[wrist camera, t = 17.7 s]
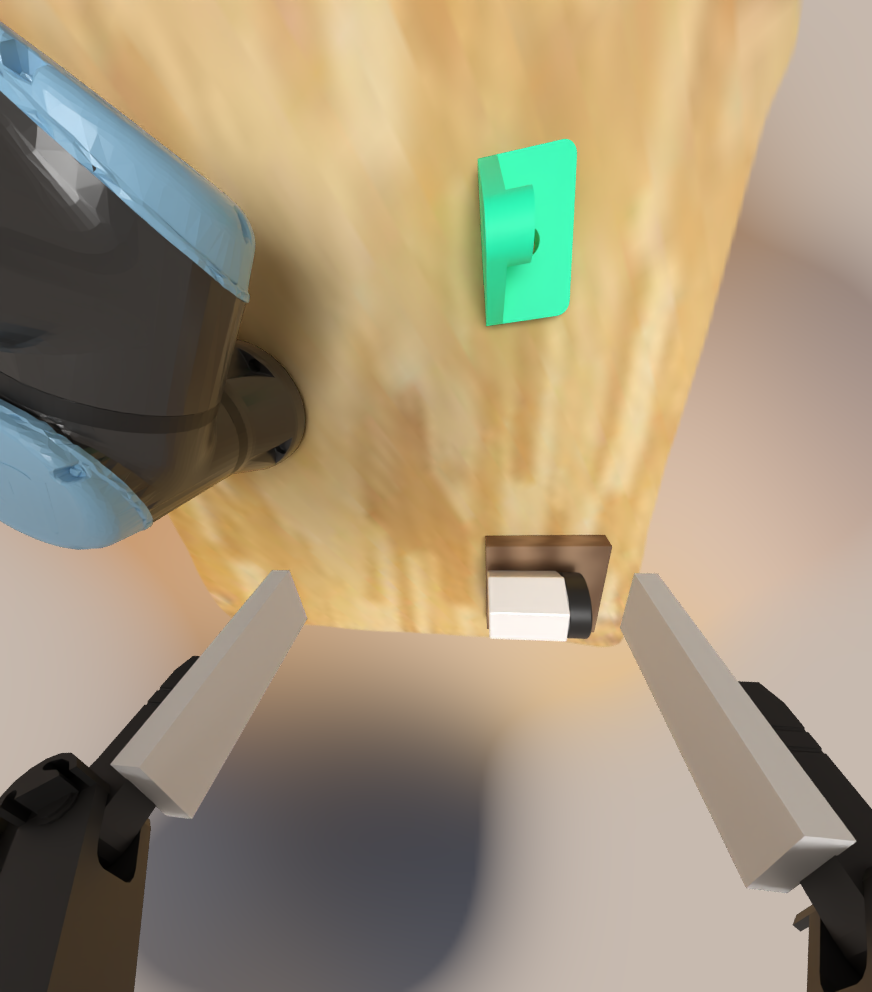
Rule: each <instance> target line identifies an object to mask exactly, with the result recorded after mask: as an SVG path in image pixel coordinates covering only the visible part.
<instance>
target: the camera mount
mask: <svg viewBox="0 0 872 992" xmlns="http://www.w3.org/2000/svg"><path fill="white" fill-rule="evenodd" d="M576 163H577V150H576V146H575V144H574V143H573V142H572V141H571V140H569V139H562V140H558V141H553V142H549V143H545V144H540V145H536V146H532V147H527V148H523V149H518V150H514V151H510V152H505V153H501V154H497V155H492V156H488V157H484V158H479V159H478V182H479V201H480V219H481V225H480V226H481V244H482V263H483V281H484V294H485V313H486V326H491V325H498V324H504V323H511V322H518V321H525V320H531V319H538V318H545V317H552V316H558V315H561V314H562V313H564V312H565V311H566V309H567V308H568V306H569V301H570V282H571V262H572V243H573V223H574V203H575V183H576ZM534 242H535V251H534V254H533V246H534ZM532 254H533V255H532Z"/></svg>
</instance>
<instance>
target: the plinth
mask: <svg viewBox="0 0 872 992" xmlns="http://www.w3.org/2000/svg"><path fill="white" fill-rule="evenodd" d="M611 549H612V545H611V544H610V542H609V541H608V539H607V537H606V536H605V535H561V536H486V608H487V629H489V612H488V578H487V572H488V571H489V570H518V571H556V572H558V573H559V572H578V573H581V574H582V575H583V577H584V578H585V581H586V583H587V586H588V589H589V593H590V598H591V604H592V618H593V620H592V630H591V632H594V630H595V625H596V621H597V616H598V611H599V606H600V602H601V597H602V592H603V587H604V583H605V578H606V573H607V568H608V564H609V559H610V554H611Z"/></svg>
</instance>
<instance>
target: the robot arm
mask: <svg viewBox="0 0 872 992" xmlns="http://www.w3.org/2000/svg"><path fill="white" fill-rule="evenodd" d="M255 246H256V245H255V237H254V232H253V229H252V226H251V224H250V222H249V220H248V218H247V216H246V215H245V213H244V212H243V211H242V210H241V208H240V207H239V206H238V205H237V204H236V203H235V202H234V201H233V200H232V199H231V198H229V197H228V196H227V195H226V194H225V193H224V192H222V191H221V190H220V189H219V188H217V187H216V186H215V185H214V184H212V183H211V182H210V181H209V180H207V179H206V178H205V177H203V176H202V175H201V174H200V173H198V172H197V171H196V170H195V169H193V168H192V167H191V166H190V165H188V164H187V163H186V162H184V161H183V160H182V159H181V158H179V157H178V156H177V155H175V154H174V153H173V152H172V151H170V150H169V149H168V148H166V147H165V146H164V145H162V144H161V143H160V142H159V141H157V140H156V139H155V138H153V137H152V136H151V135H149V134H148V133H147V132H146V131H144V130H143V129H142V128H140V127H139V126H138V125H137V124H135V123H134V122H133V121H131V120H130V119H129V118H128V117H126V116H125V115H124V114H122V113H121V112H120V111H119V110H117V109H116V108H115V107H113V106H112V105H111V104H109V103H108V102H107V101H106V100H104V99H103V98H102V97H100V96H99V95H98V94H96V93H95V92H94V91H92V90H91V89H90V88H89V87H87V86H86V85H85V84H83V83H82V82H81V81H79V80H78V79H77V78H75V77H74V76H73V75H72V74H70V73H69V72H68V71H66V70H65V69H64V68H62V67H61V66H60V65H58V64H57V63H56V62H55V61H53V60H52V59H51V58H49V57H48V56H46V55H45V54H44V53H42V52H41V51H40V50H38V49H37V48H36V47H34V46H33V45H32V44H30V43H29V42H28V41H26V40H25V39H23V38H22V37H21V36H19V35H18V34H17V33H15V32H14V31H13V30H11V29H10V28H9V27H7V26H6V25H5V24H3V23H2V22H1V21H0V521H1V522H3V523H4V524H6V525H8V526H10V527H11V528H13V529H15V530H17V531H19V532H21V533H24V534H26V535H28V536H30V537H32V538H35V539H37V540H40V541H43V542H45V543H48V544H52V545H55V546H59V547H64V548H70V549H78V550H79V549H91V548H103V547H107V546H110V545H112V544H114V543H116V542H118V541H121V540H123V539H125V538H127V537H129V536H131V535H133V534H135V533H137V532H139V531H142V530H146V529H147V528H149V527H150V526H151V525H152V524H153V522H155V521H156V520H158V519H160V518H161V517H163V516H164V515H166V514H168V513H169V512H171V511H173V510H174V509H176V508H178V507H179V506H181V505H182V504H184V503H186V502H187V501H189V500H191V499H192V498H194V497H195V496H197V495H199V494H200V493H202V492H204V491H205V490H207V489H209V488H210V487H212V486H213V485H215V484H217V483H218V482H220V481H222V480H223V479H225V478H226V477H228V476H230V475H231V474H235V473H242V472H249V471H256V470H262V469H267V468H270V467H272V466H274V465H277V464H278V463H280V462H281V461H283V460H284V459H286V458H287V457H289V456H290V455H291V454H292V453H293V452H294V451H295V450H296V449H297V447H298V446H299V444H300V442H301V440H302V437H303V434H304V428H305V413H304V407H303V403H302V400H301V397H300V394H299V392H298V389H297V387H296V385H295V384H294V382H293V380H292V379H291V377H290V376H289V374H288V373H287V372H286V370H285V369H284V368H283V367H282V366H281V365H280V364H279V363H278V362H277V361H276V360H275V359H274V358H273V357H272V356H270V355H269V354H268V353H266V352H265V351H263V350H262V349H260V348H258V347H256V346H255V345H252V344H250V343H247V342H245V341H241V340H237V335H238V331H239V327H240V323H241V320H242V316H243V312H244V308H245V304H246V303H249V300H250V295H249V293H248V287H249V280H250V275H251V270H252V264H253V259H254V254H255ZM306 620H307V616H306V613H305V611H304V608H303V605H302V603H301V600H300V597H299V595H298V592H297V589H296V587H295V584H294V581H293V579H292V576H291V573H290V571H289V570H272V571H271V572H270V573H269V575H268V576H267V577H266V578H265V579H264V581H263V582H262V583H261V584H260V585H259V587H258V588H257V589H256V590H255V591H254V593H253V594H252V595H251V596H250V597H249V599H248V600H247V601H246V602H245V603H244V605H243V606H242V607H241V608H240V609H239V610H238V612H237V613H236V614H235V615H234V616H233V618H232V619H231V620H230V621H229V622H228V624H227V625H226V626H225V627H224V628H223V630H222V631H221V632H220V633H219V635H218V636H217V637H216V638H215V639H214V641H213V642H212V643H211V644H210V645H209V647H208V648H207V649H206V650H205V651H204V652H203V654H202V655H201V656H192V657H191V658H190V659H189V660H187V661H186V662H185V663H183V664H182V665H181V666H180V667H178V668H177V669H176V670H175V671H174V672H173V673H172V674H171V675H170V676H169V678H168V679H167V680H166V681H165V682H164V683H163V684H162V686H161V687H160V690H159V691H156V692H155V694H154V695H153V696H152V697H151V698H150V699H149V700H148V703H147V705H144V706H143V707H142V708H141V710H140V711H139V712H138V713H137V714H136V716H134V718H133V719H132V720H131V721H130V722H129V723H128V724H127V726H126V727H125V728H124V729H123V730H122V731H121V732H120V734H119V735H118V736H117V737H116V738H115V739H114V740H113V742H112V743H111V744H110V745H109V746H108V747H107V748H106V750H105V751H104V752H103V753H102V754H101V755H100V756H99V758H98V759H97V760H96V761H95V762H94V763H93V764H92V765H91V766H90V767H88V766H86V765H85V764H84V763H83V762H81V760H79V759H78V758H77V757H76V756H75V755H73V754H72V753H61V754H58V755H55V756H52V757H50V758H47V759H45V760H44V761H42V762H41V763H39V764H37V765H36V766H34V767H32V768H31V769H29V770H28V771H27V772H26V773H25V774H23V775H22V776H21V777H20V778H18V779H17V780H16V781H15V782H14V783H13V784H12V785H11V786H10V787H9V788H8V789H7V790H6V791H5V792H4V793H3V795H2V796H1V797H0V992H134V986H135V976H136V966H137V956H138V947H139V936H140V928H141V918H142V908H143V898H144V889H145V879H146V869H147V860H148V849H149V841H150V831H151V826H150V820H149V819H148V817H149V816H150V814H151V813H152V811H153V810H154V808H155V807H157V808H159V809H160V810H161V811H162V812H163V813H164V814H165V815H166V816H172V817H180V818H188V819H192V818H193V816H194V814H195V813H196V811H197V809H198V808H199V806H200V804H201V802H202V801H203V799H204V797H205V795H206V793H207V792H208V790H209V788H210V786H211V785H212V783H213V781H214V780H215V778H216V776H217V775H218V773H219V771H220V769H221V767H222V766H223V764H224V762H225V761H226V759H227V757H228V755H229V754H230V752H231V750H232V748H233V747H234V745H235V743H236V741H237V740H238V738H239V736H240V735H241V733H242V731H243V729H244V728H245V726H246V724H247V722H248V720H249V719H250V717H251V715H252V714H253V712H254V710H255V708H256V707H257V705H258V703H259V701H260V700H261V698H262V696H263V695H264V693H265V691H266V689H267V688H268V686H269V684H270V682H271V681H272V679H273V677H274V675H275V674H276V672H277V670H278V668H279V667H280V665H281V663H282V662H283V660H284V658H285V656H286V655H287V653H288V651H289V649H290V648H291V646H292V644H293V642H294V641H295V639H296V637H297V635H298V634H299V632H300V630H301V628H302V627H303V625H304V623H305V622H306ZM620 629H621V631H622V633H623V635H624V637H625V639H626V641H627V643H628V645H629V647H630V649H631V651H632V653H633V655H634V657H635V659H636V661H637V664H638V666H639V668H640V670H641V672H642V674H643V676H644V678H645V680H646V682H647V684H648V686H649V688H650V690H651V692H652V695H653V697H654V699H655V701H656V703H657V705H658V707H659V709H660V711H661V713H662V715H663V717H664V719H665V722H666V724H667V726H668V728H669V730H670V732H671V734H672V736H673V738H674V740H675V742H676V744H677V746H678V748H679V750H680V753H681V755H682V757H683V759H684V761H685V763H686V764H687V767H688V769H689V771H690V773H691V775H692V777H693V779H694V781H695V783H696V786H697V788H698V790H699V792H700V794H701V796H702V798H703V800H704V802H705V804H706V806H707V808H708V810H709V812H710V814H711V817H712V819H713V821H714V823H715V825H716V827H717V829H718V831H719V833H720V835H721V837H722V839H723V841H724V843H725V845H726V848H727V850H728V852H729V854H730V856H731V858H732V860H733V862H734V864H735V866H736V868H737V870H738V872H739V874H740V876H741V878H742V881H743V883H744V885H745V887H746V888H750V889H758V890H766V891H774V892H782V893H788V892H790V891H791V890H792V889H794V888H795V887H796V886H798V885H799V884H801V885H802V887H803V889H804V890H805V892H806V894H807V896H808V897H809V899H810V901H811V902H812V905H811V906H810V907H808V908H806V909H805V910H803V911H802V912H800V913H799V914H797V915H796V918H795V920H794V923H793V926H795V927H796V928H797V929H798V930H800V931H802V930H804V929H805V928H807V927H809V946H808V975H807V992H872V809H871V808H870V807H869V805H868V804H867V803H866V802H865V800H864V799H863V798H862V797H861V795H860V794H859V793H858V792H857V791H856V789H855V788H854V787H853V786H852V785H851V783H850V782H849V781H848V780H847V779H846V777H845V776H844V775H843V774H842V772H841V771H840V770H839V769H838V768H837V767H836V765H835V764H834V763H833V762H832V760H831V759H830V758H829V757H828V756H827V754H824V753H823V752H822V750H821V747H820V746H819V745H818V743H817V742H816V741H815V740H814V739H813V737H812V736H811V735H810V734H809V733H808V732H806V731H805V730H804V727H803V725H802V724H801V723H800V722H799V720H798V719H797V718H796V717H795V715H794V714H793V713H792V712H791V711H790V709H789V708H788V707H787V706H786V705H785V703H784V702H782V701H781V700H780V699H778V698H777V697H776V696H775V695H774V694H772V693H771V692H770V691H768V689H766V688H765V687H764V686H763V685H761V684H760V683H759V682H740V681H737V680H736V678H735V677H734V676H733V674H732V673H731V672H730V670H729V669H728V668H727V666H726V665H725V663H724V662H723V661H722V659H721V658H720V657H719V655H718V654H717V653H716V652H715V650H714V649H713V647H712V646H711V645H710V643H709V642H708V641H707V639H706V638H705V637H704V635H703V634H702V633H701V631H700V630H699V629H698V627H697V626H696V625H695V623H694V622H693V621H692V619H691V618H690V616H689V615H688V614H687V612H686V611H685V610H684V608H683V607H682V606H681V604H680V603H679V602H678V600H677V599H676V598H675V596H674V595H673V594H672V592H671V591H670V590H669V588H668V587H667V585H666V584H665V583H664V581H663V580H662V579H661V577H660V576H659V575H658V574H650V573H646V574H645V573H634V576H633V580H632V584H631V588H630V591H629V595H628V599H627V603H626V607H625V610H624V614H623V618H622V622H621V626H620Z"/></svg>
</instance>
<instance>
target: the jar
mask: <svg viewBox="0 0 872 992" xmlns="http://www.w3.org/2000/svg"><path fill="white" fill-rule="evenodd" d="M487 578H488V612H489V637H490V638H491V639H514V640H541V641H567V638H579V639H587V638H588V637H589V636H590V634H591V630H592V620H593V618H592V604H591V598H590V593H589V589H588V586H587V583H586V581H585V578H584V577H583V575H582V574H581V573H578V572H559V573H558V572H556V571H518V570H489V571H488V572H487Z"/></svg>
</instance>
